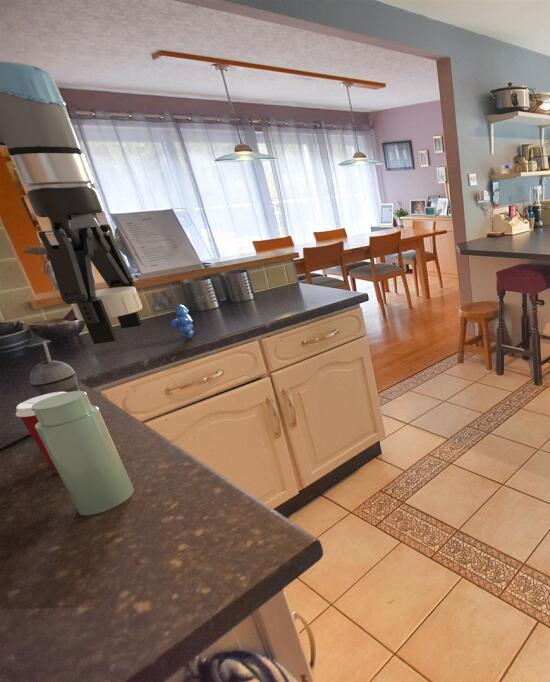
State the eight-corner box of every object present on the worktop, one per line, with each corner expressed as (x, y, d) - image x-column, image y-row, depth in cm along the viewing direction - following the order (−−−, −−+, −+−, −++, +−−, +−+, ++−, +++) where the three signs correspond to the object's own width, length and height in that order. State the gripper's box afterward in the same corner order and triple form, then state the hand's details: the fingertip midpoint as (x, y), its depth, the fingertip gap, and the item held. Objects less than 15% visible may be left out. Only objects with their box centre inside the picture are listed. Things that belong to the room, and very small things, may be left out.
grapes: (177, 335, 162) (166, 304, 158) (199, 331, 165) (188, 301, 161) (174, 344, 153) (162, 311, 148) (197, 339, 156) (186, 307, 152)
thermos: (65, 516, 70) (11, 412, 63) (105, 486, 77) (60, 390, 70) (108, 514, 70) (58, 410, 63) (145, 485, 76) (103, 387, 70)
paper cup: (105, 459, 85) (76, 395, 80) (51, 481, 79) (16, 414, 74) (93, 448, 89) (65, 387, 84) (41, 468, 83) (8, 403, 79)
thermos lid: (147, 304, 75) (140, 284, 74) (136, 314, 69) (127, 292, 67) (87, 312, 72) (79, 292, 71) (69, 324, 65) (59, 301, 64)
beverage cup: (45, 430, 98) (4, 348, 91) (84, 414, 104) (48, 336, 97) (65, 434, 95) (24, 350, 89) (103, 418, 102) (68, 338, 95)
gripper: (72, 189, 72) (123, 320, 80) (-30, 188, 53) (51, 359, 61) (125, 186, 74) (171, 314, 82) (46, 184, 55) (114, 350, 63)
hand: (119, 333), depth 71 cm, fingers closed on thermos lid, 8 cm apart
